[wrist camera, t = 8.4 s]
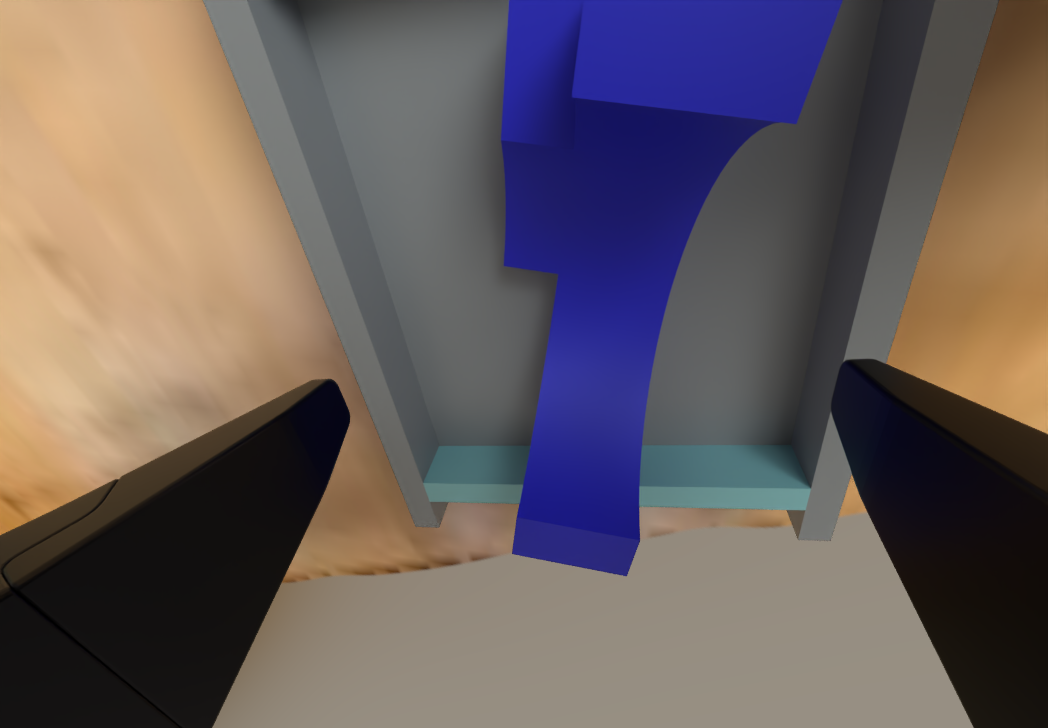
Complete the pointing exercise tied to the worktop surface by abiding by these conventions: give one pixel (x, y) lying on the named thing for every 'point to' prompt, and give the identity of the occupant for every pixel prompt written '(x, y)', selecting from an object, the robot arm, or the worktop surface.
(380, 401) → the tray
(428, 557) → the worktop surface
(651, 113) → the cable clip
